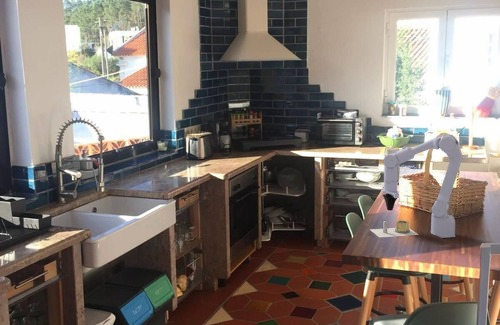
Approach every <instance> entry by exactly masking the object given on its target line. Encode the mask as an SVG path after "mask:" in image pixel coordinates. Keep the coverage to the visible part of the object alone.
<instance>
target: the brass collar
mask: <svg viewBox="0 0 500 325" xmlns="http://www.w3.org/2000/svg"><path fill="white" fill-rule="evenodd" d="M400 222H405V223H400ZM395 228H396V230H397V231H402V232H406V231H409V228H410V222H409V221H408V220H404V219H403V220H400V219H399V220H396V221H395Z"/></svg>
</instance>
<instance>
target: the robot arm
mask: <svg viewBox="0 0 500 325" xmlns="http://www.w3.org/2000/svg"><path fill="white" fill-rule="evenodd" d="M431 149H432V150H433V149H435V150H441V151H442V152H443V153H445V154H446V156H447V157H448V159H449V163H448V166H447V169H446V172H445V174H444V178H443V180H442V184H441V186H440V187H441V188H440V191H439V193H438V197H437V198H436V200H435V201H434V204H433V205H432V206H431V212H432V213H431V216H430V217H431V222H430V234H432V235H434V236H437V237H439V238H441V239H443V238H455V237H456V219H455V217H454V215H451V214H449V212H448V210H450V198H451V194H452V191H453V188H454V186H455V182H456V179H457V176H458V173H459V170H460V167H461V164H462V160H463V153H462V150H461V146H460V142H459V141H458V139H457V138H456V137H455V136H454V135H453V134H450V133H447V134H444V135H442V136H438V137H437V136H436V137H434V138H431V139H430V140H427V141H424V142H423V143H420V144H418V145H416V146H414V147H411V146H402V148H401V149H399V151H396V152H395V151H393V152H392V153H393V154H388V155H387V156H386V157H385V158H384V157H383V186H382V187H381V193H382V197H383V199H384V202H385V205H386V206H385V207H386V210H387V211H393V210H394V206H395V203H396V201H397V199H400V193H399V192H398V184H397V164H400V165H401V164H403V163H406V162H408V161H411V160H413V159H414V158H415V156H416V155H417V154H421V153H423V152H427V151H428V150H431ZM384 165H385V167H384ZM384 168H385V170H384Z"/></svg>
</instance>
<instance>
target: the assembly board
mask: <svg viewBox="0 0 500 325" xmlns="http://www.w3.org/2000/svg"><path fill="white" fill-rule="evenodd" d="M400 223H405V222H400ZM382 225H383V226H382V227H383V228H371V229H369V231H371V232H372V233H373V234H374V235H376V237H378V238H389V237H391V238H392V237H405V236H406V237H407V236H419V235H420V234H419V233H417V232H416V231H414V229H413V230H412V229H411V228H410V227H409V231H406V232H402V231H397V230H396V227H389V228H388V220H387V221H386V220H384V221H383V223H382Z"/></svg>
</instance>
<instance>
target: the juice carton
mask: <svg viewBox="0 0 500 325" xmlns="http://www.w3.org/2000/svg"><path fill="white" fill-rule="evenodd" d="M399 150H400V148H399V146H395V144H394V145H391V144H390V145H389V146H385V147H384V153H383V155H384V157H383V159H384V158H385V157H386V156H387V155H388V154H393V153H392V152H393V151H395V152H396V151H399ZM384 167H385V165H384V164H383V171H384V170H385V168H384ZM400 167H401V164H397V185H398V184H399V182H400V175H401V174H400Z"/></svg>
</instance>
